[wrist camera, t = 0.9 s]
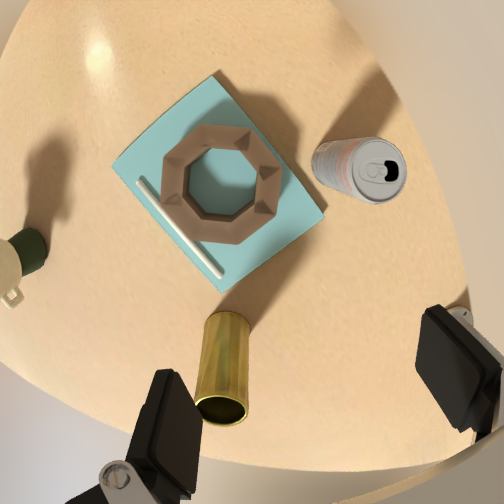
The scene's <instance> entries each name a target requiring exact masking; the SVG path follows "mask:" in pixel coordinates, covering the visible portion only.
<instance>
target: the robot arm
mask: <svg viewBox="0 0 504 504" xmlns="http://www.w3.org/2000/svg"><path fill="white" fill-rule="evenodd" d="M415 367H416V371H417V373H418V374H419V375H420V377H421V378H422V380H423V381H424V383H425V384H426V386H427V387H428V389H429V390H430V392H431V394H432V395H433V397H434V398H435V400H436V401H437V403H438V404H439V406H440V408H441V409H442V411H443V412H444V414H445V415H446V417H447V419H448V420H449V422H450V424H451V425H452V427H453V428H455V429H456V428H457V429H458V430H459V432H460V433H461V432H463V431H465V430H467V429H468V428H470V427H471V428H472V429H473V431H474V432H473V437H472V442H471V446H470V447H468V448H466V449H464V450H463V451H461V452H459V453H457V454H456V455H454V456H452V457H450V458H449V459H447V460H445V461H443V462H441V463H439V464H437V465H435V466H433V467H431V468H429V469H427V470H425V471H423V472H421V473H419V474H416V475H414V476H412V477H410V478H407V479H405V480H402V481H400V482H398V483H395V484H392V485H390V486H387V487H384V488H382V489H379V490H376V491H373V492H370V493H367V494H364V495H361V496H357V497H354V498H351V499H347V500H343V501H340V502H336V503H332V504H504V356H503V355H502V354H501V353H500V352H499V351H497V349H496V348H494V346H493V345H492V344H491V343H489V341H488V340H486V338H484V337H483V336H482V335H481V334H480V333H479V332H478V331H477V330H476V329H475V328H474V327H473V316H472V314H471V312H470V311H469V310H468V309H466V308H465V307H462V306H457V307H453V308H450V309H448V310H446V309H445V308H444V307H442V306H441V305H440V304H437V305H435V306H432V307H429V308H427V309H426V310H425V313H424V314H423V315H422V320H421V328H420V336H419V343H418V350H417V356H416V362H415ZM202 426H203V418H202V415H201V413H200V411H199V410H198V408H197V406H196V404H195V403H194V401H193V399H192V397H191V395H190V394H189V392H188V390H187V388H186V386H185V384H184V382H183V380H182V379H181V377H180V375H179V373H178V372H174V370H173V369H162V370H157V371H156V372H155V375H154V378H153V381H152V384H151V387H150V390H149V393H148V396H147V399H146V402H145V404H144V405H143V406H142V408H141V411H140V414H139V417H138V420H137V423H136V426H135V429H134V432H133V436H132V439H131V442H130V446H129V449H128V452H127V456H126V459H125V461H122V460H116V461H112V462H110V463H108V464H106V465H105V466H104V467H103V468H102V470H101V472H100V474H99V483H100V484H98V485H96V486H94V487H93V488H91V489H89V490H87V491H86V492H84V493H82V494H80V495H78V496H76V497H74V498H73V499H71V500H69V501H67V502H66V503H65V504H180V500H191V494H194V493H195V491H196V482H197V472H198V463H199V453H200V444H201V435H202Z"/></svg>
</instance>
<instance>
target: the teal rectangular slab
mask: <svg viewBox="0 0 504 504" xmlns="http://www.w3.org/2000/svg"><path fill="white" fill-rule="evenodd" d="M200 124H201V125H202V124H210V125H223V126H234V127H244V128H251V129H253V131H254V132H255V133H256V134H257V135H258V137H259V138H260V139H261V140H262V142H263V143H264V144H265V145H266V147H267V148H268V149H269V150H270V152H271V153H272V154H273V155H274V157H275V158H276V159H277V160H278V162H279V163H280V164H281V166H282V168H283V171H282V178H281V186H280V193H279V200H278V207H277V214H276V215H275V216H276V217H274V218H273V219H272V220H270V221H269V222H268V223H266V224H265V225H264V226H262V227H261V228H260V229H258V230H257V231H256V232H255V233H253V234H252V235H251V236H249V237H248V238H247V239H245V240H244V241H243V242H242V243H240V244H239V245H238V244H237V245H232V244H222V243H212V242H202V241H193V240H190V239H189V238H188V237H187V235H186V234H185V233H184V232H183V231H182V230H181V229H180V227H179V226H178V225H177V224H176V223H175V222H174V220H173V219H172V218H171V217H170V216H169V215H168V213H167V212H166V211H165V210H164V209H163V208H162V206H161V204H160V194H161V178H162V165H163V157H164V155H165V154H167V153H168V152H169V151H170V150H171V149H172V148H173V147H174V146H176V145H177V144H178V143H179V142H180V141H181V140H182V139H184V138H185V137H186V136H187V135H188V134H190V133H191V132H192V131H193V130H194V129H196V128H197V127H198V126H199V125H200ZM111 167H112V168H113V169H114V171H115V172H116V173H117V174H118V176H119V177H120V178H121V179H122V181H123V182H124V183H125V184H126V185H127V187H128V188H129V189H130V190H131V192H132V193H133V194H134V195H135V196H136V198H137V199H138V200H139V201H140V202H141V204H142V205H143V206H144V207H145V208H146V210H147V211H148V212H149V213H150V214H151V215H152V217H153V218H154V219H155V220H156V221H157V222H158V224H159V225H160V226H161V227H162V228H163V229H164V231H165V232H166V233H167V234H168V235H169V236H170V237H171V239H172V240H173V241H174V242H175V243H176V244H177V245H178V247H179V248H180V249H181V250H182V251H183V252H184V253H185V254H186V256H187V257H188V258H189V259H190V260H191V261H192V262H193V263H194V264H195V266H196V267H197V268H198V269H199V270H200V271H201V272H202V273H203V274H204V275H205V277H206V278H207V279H208V280H209V281H210V282H211V283H212V284H213V285H214V286H215V287H216V288H217V289H218V291H219V292H220V293H221V294H222V293H223V292H225V291H226V290H227V289H229V288H230V287H232V286H233V285H234V284H236V283H237V282H238V281H240V280H241V279H243V278H244V277H245V276H247V275H248V274H249V273H251V272H252V271H253V270H255V269H256V268H258V267H259V266H260V265H262V264H263V263H264V262H266V261H267V260H268V259H270V258H271V257H272V256H274V255H275V254H276V253H278V252H279V251H280V250H282V249H283V248H285V247H286V246H287V245H289V244H290V243H291V242H293V241H294V240H295V239H297V238H298V237H299V236H301V235H302V234H303V233H305V232H306V231H307V230H309V229H310V228H311V227H313V226H314V225H315V224H317V223H318V222H319V221H321V220H322V219H323V218H325V216H324V215H323V213H322V212H321V211H320V209H319V208H318V206H317V205H316V204H315V202H314V201H313V199H312V198H311V197H310V195H309V194H308V192H307V191H306V190H305V188H304V187H303V186H302V184H301V183H300V182H299V180H298V179H297V178H296V176H295V175H294V174H293V172H292V171H291V170H290V168H289V167H288V166H287V164H286V163H285V162H284V160H283V159H282V158H281V157H280V155H279V154H278V153H277V151H276V150H275V149H274V148H273V146H272V145H271V144H270V143H269V141H268V140H267V139H266V138H265V136H264V135H263V134H262V133H261V132H260V130H259V129H258V128H257V127H256V125H255V124H254V123H253V122H252V121H251V119H250V118H249V117H248V116H247V115H246V113H245V112H244V111H243V110H242V109H241V108H240V106H239V105H238V104H237V103H236V102H235V101H234V100H233V98H232V97H231V96H230V95H229V94H228V93H227V92H226V90H225V89H224V88H223V87H222V86H221V85H220V84H219V83H218V82H217V80H216V79H215V78H214V77H213V76H211V77H209V78H208V79H207V80H205V81H204V82H203V83H201V84H200V85H199V86H198V87H196V88H195V89H194V90H192V91H191V92H190V93H189V94H187V95H186V96H185V97H184V98H183V99H181V100H180V101H179V102H178V103H176V104H175V105H174V106H173V107H172V108H171V109H169V110H168V111H167V112H166V113H165V114H164V115H163V116H161V117H160V118H159V119H158V120H157V121H156V122H155V123H154V124H153V125H151V126H150V127H149V128H148V129H147V130H146V131H145V132H144V133H143V134H142V135H141V136H140V137H139V138H138V139H137V140H136V141H135V142H134V143H133V144H132V145H131V146H130V147H129V148H128V149H127V150H126V151H125V152H124V153H123V154H122V155H121V156H120V157H119V158H118V159H117V160H116V161H115V162H114V163H113V164H112V165H111ZM256 174H257V172H256V170H255V169H254V168H253V167H252V165H251V164H250V163H249V162H248V160H247V159H246V158H245V157H244V155H243V154H242V153H241V152H240V151H237V150H227V149H215V148H212V149H211V150H209V151H208V152H207V153H206V154H205V155H203V156H202V157H201V158H200V159H199V160H197V161H196V162H195V163H194V164H193V165H191V173H190V184H189V193H190V194H191V195H192V197H193V198H194V199H195V200H196V201H197V203H198V204H199V205H200V206H201V207H202V209H203V210H204V211H205V212H206V213H216V214H226V215H233V214H235V213H236V212H237V211H238V210H240V209H241V208H242V207H243V206H245V205H246V204H247V203H249V202H250V201H251V200H252V199H254V191H255V183H256Z"/></svg>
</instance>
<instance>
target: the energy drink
mask: <svg viewBox="0 0 504 504" xmlns="http://www.w3.org/2000/svg"><path fill="white" fill-rule="evenodd" d="M311 167H312V171H313V174H314V176H315V177H316V179H317V180H318V181H319V182H320V183H321V184H323V185H325V186H327V187H329V188H332V189H334V190H337V191H339V192H341V193H344V194H346V195H349V196H351V197H353V198H356V199H358V200H360V201H363V202H365V203H368V204H381V203H386V202H389V201H391V200H393V199H394V198H396V197H397V196H398V195H399V194H400V192H401V191H402V189H403V187H404V184H405V181H406V175H407V170H406V163H405V160H404V158H403V155H402V154H401V152H400V151H399V149H398V148H397V147H396V146H395V145H393V144H392V143H390V142H388V141H386V140H385V139H382V138H380V137H363V138H354V139H345V140H337V141H330V142H326V143H323V144H322V145H320V146H319V147H318V148H317V149H316V150H315V152H314V154H313V156H312V160H311Z"/></svg>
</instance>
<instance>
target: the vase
mask: <svg viewBox="0 0 504 504" xmlns="http://www.w3.org/2000/svg"><path fill="white" fill-rule="evenodd" d="M249 336H250V327H249V324H248V323H247V321H246V320H245V319H244V318H243V317H242V316H240V315H239V314H236V313H233V312H228V311H223V312H218V313H215V314H213V315H212V316H210V317H209V318H208V320H207V321H206V323H205V325H204V336H203V343H202V351H201V358H200V366H199V373H198V379H197V385H196V392H195V397H194V403H195V404H196V406H197V408H198V410H199V411H200V413H201V415H202V418H203V422H205V423H208V424H210V425H214V426H220V427H228V426H233V425H236V424H239V423H241V422H242V421H244V420H245V419H246V417H247V415H248V410H249V401H248V370H249V364H248V359H249Z"/></svg>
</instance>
